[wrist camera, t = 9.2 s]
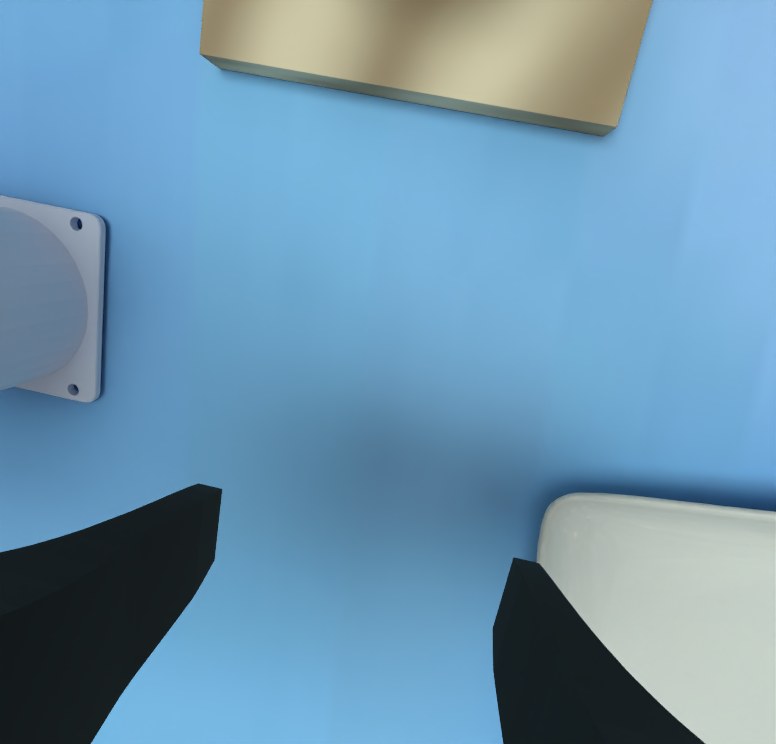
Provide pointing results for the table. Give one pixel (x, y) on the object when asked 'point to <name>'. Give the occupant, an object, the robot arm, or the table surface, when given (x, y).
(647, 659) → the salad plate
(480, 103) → the plate
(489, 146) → the table surface
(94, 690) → the robot arm
